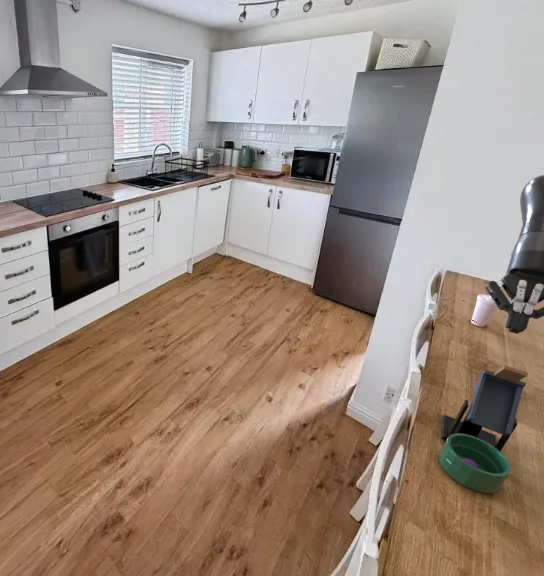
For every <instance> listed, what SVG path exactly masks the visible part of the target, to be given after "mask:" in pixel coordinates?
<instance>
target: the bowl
mask: <svg viewBox="0 0 544 576" xmlns="http://www.w3.org/2000/svg"><path fill="white" fill-rule="evenodd" d="M462 458H467V459H470V460H472V461H473V462H475V463H476V465H477V466H478V468H476V467H474V466H472V465H470V464H469V463H467V462H466V461H464V460H463V459H462ZM438 461H439V463H440V466H441V467H442V469H443V470H444V471H445V472H446V473H447V474H448V475H449V476H450V477H451V478H452V479H453V480H454V481H456V482H458V483H459V484H461V485H462V486H465V487H467V488H469V489H471V490H473V491H476V492H480V493H484V494H493V493H496V492H498V491H499V490H500V488H501V487H502V485H503V484H504V482H505V481H506V479H507V478H508V476H509V475H510V474H511V471H512V466H511V463H510V461H509V460H508V458H507V457H506V456H505V455H504V454H503V453H502V452H501V451H499V450H497V449H496V448H495V447H493V446H492V445H490V444H489V443H487V442H485V441H483V440H481V439H479V438H476V437H474V436H471V435H467V434H458V433H456V434H452V435H450V436H449V437H448V438H447V440H446V442H445V441H444V444H443V446H442V447H441V449H440V451H439V452H438Z"/></svg>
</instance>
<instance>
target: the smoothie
mask: <svg viewBox="0 0 544 576" xmlns="http://www.w3.org/2000/svg"><path fill="white" fill-rule="evenodd" d="M498 309H499V308H498V307H497V305H496V303H495V302H494V300H493V299H492V297H491V296H490V294H484V293H483V294H482V293H481V294H478V295H477V297H476V303H475V306H474V310H473V313H472V317H471V321H470V324H472V325H474V326H477V327H480V328H481V327H482V328H483V327H485V326H486V325H487V323H489V321H490V319H491V318H492V317H493V315H494V314H495V313H496V311H497V310H498ZM472 320H474V321H475V322H474V321H472ZM476 322H477V323H476Z"/></svg>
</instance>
